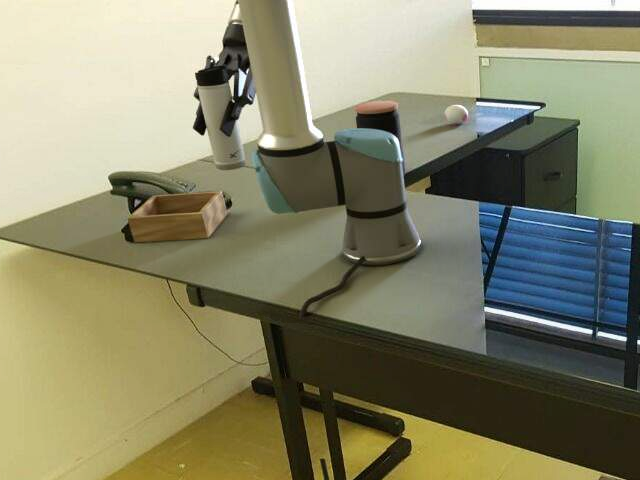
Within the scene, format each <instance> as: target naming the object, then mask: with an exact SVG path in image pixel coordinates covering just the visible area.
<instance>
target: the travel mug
mask: <svg viewBox="0 0 640 480" xmlns="http://www.w3.org/2000/svg"><path fill="white" fill-rule="evenodd" d="M227 68H228V66H227V64H223V65H221V66H215V67H210V68H206V69H204V68H203V69H199V70H197V72H194V76H195V80H196V87H198V88H199V89H198V92H199V96H200V100H201V105H202V109H203V114H204V118H205V122H206V127H207V128H206V131H207V135H208V139H209V144H210V149H211V152H212V157H213V161H214V165H215V166H214V167H215V168H216V169H217V170H219V171H233V170H238V169H241V168H243V167H245V166H246V165H247V161H246V156H245V152H244V146H243V142H242V136H241V133H240V127H239V123H238V120H236V122H235V125H234V128H233V131H232V134H231V137H227V136H226V135H225V134H224V133H223V132H222V131H221V130H220V126H221V123H222V120H223V117H224V114H225V111H226V108H227V105H228V103H229V101H233V102H234V100H233V99H232V98H233V97H232V96H233V93H232V90H231V85H230V80H229V81H228V78H227V77H228V76H227V71H226V69H227ZM231 97H232V98H231Z"/></svg>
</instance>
